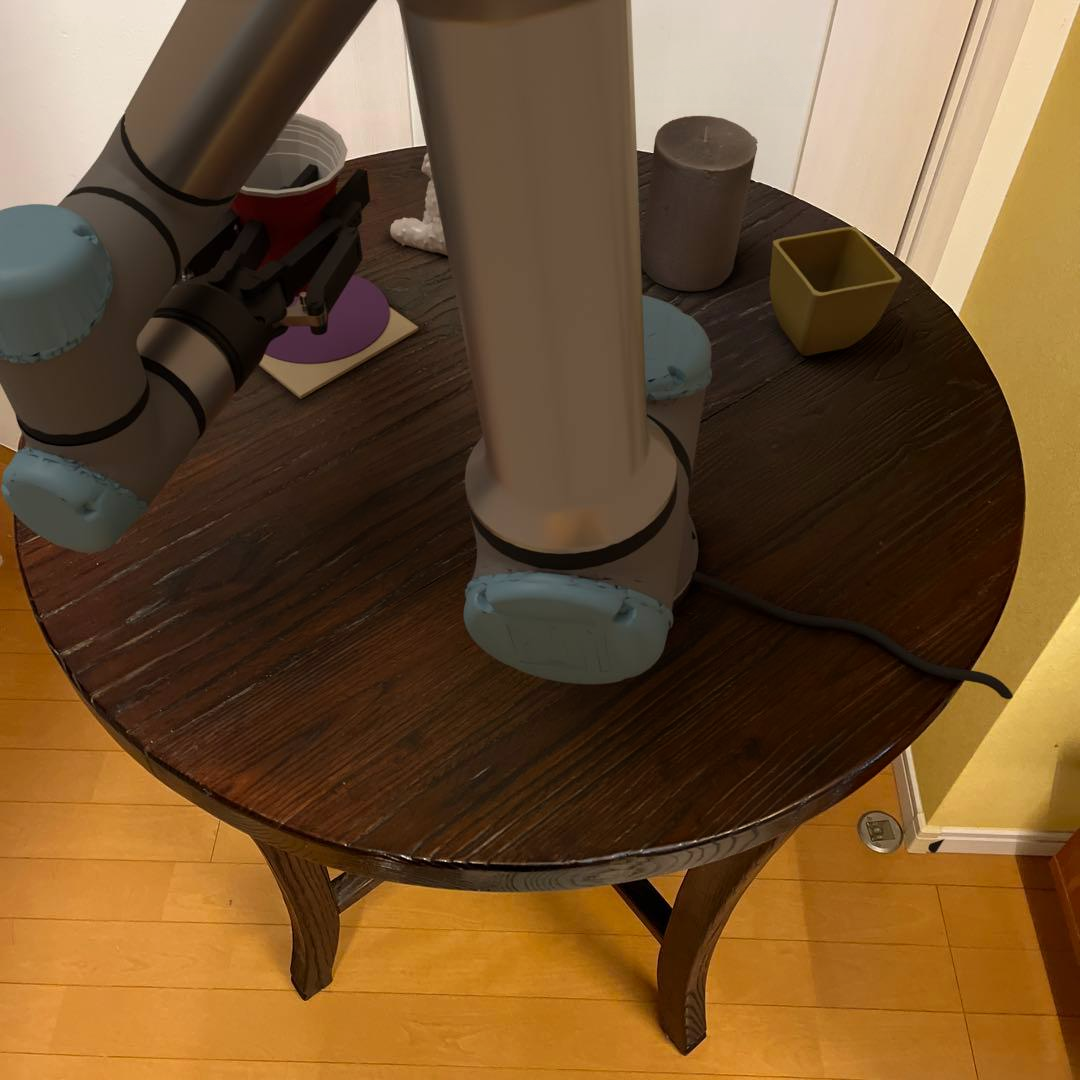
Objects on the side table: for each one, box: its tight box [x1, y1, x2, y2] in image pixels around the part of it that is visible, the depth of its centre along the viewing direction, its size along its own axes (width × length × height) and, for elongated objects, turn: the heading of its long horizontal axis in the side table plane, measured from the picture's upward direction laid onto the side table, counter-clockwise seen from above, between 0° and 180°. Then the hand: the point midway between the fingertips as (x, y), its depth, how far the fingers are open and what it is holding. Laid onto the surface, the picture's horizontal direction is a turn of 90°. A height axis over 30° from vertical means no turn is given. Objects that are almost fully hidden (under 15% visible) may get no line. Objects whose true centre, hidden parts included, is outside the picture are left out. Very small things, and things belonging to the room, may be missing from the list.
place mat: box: [258, 274, 420, 400], centre depth 102 cm, size 16×15×1 cm
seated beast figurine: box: [389, 152, 448, 257], centre depth 107 cm, size 10×9×12 cm
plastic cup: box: [230, 112, 349, 297], centre depth 84 cm, size 11×11×12 cm
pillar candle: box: [640, 115, 759, 292], centre depth 104 cm, size 10×10×15 cm
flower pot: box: [769, 226, 902, 357], centre depth 99 cm, size 9×9×9 cm
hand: (342, 180), depth 86 cm, fingers closed on plastic cup, 3 cm apart
